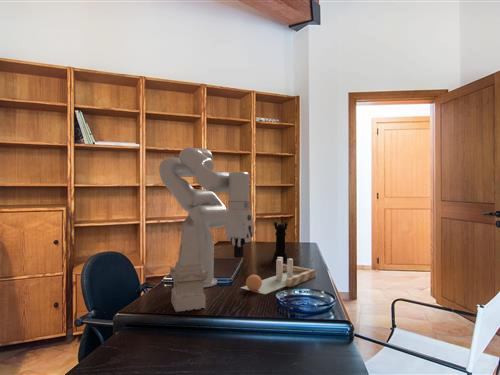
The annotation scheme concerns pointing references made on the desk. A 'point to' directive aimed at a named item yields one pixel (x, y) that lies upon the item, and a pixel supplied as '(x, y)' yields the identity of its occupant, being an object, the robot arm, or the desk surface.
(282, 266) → the pin
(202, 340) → the desk surface
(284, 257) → the chess piece
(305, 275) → the backstop
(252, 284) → the ball
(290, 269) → the pin
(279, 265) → the pin front
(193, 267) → the miniature monument
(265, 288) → the lane
